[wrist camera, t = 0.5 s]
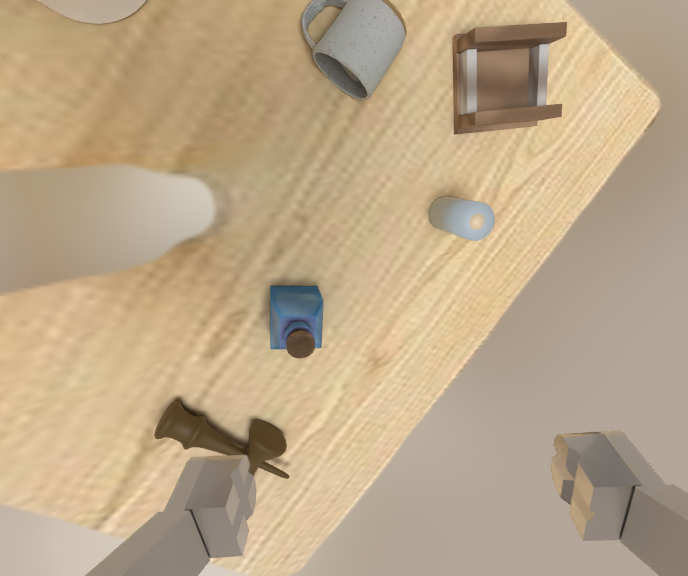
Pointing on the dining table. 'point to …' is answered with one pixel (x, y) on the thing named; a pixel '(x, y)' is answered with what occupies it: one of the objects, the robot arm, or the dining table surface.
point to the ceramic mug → (357, 43)
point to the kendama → (198, 434)
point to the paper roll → (462, 217)
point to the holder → (503, 76)
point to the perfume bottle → (296, 319)
